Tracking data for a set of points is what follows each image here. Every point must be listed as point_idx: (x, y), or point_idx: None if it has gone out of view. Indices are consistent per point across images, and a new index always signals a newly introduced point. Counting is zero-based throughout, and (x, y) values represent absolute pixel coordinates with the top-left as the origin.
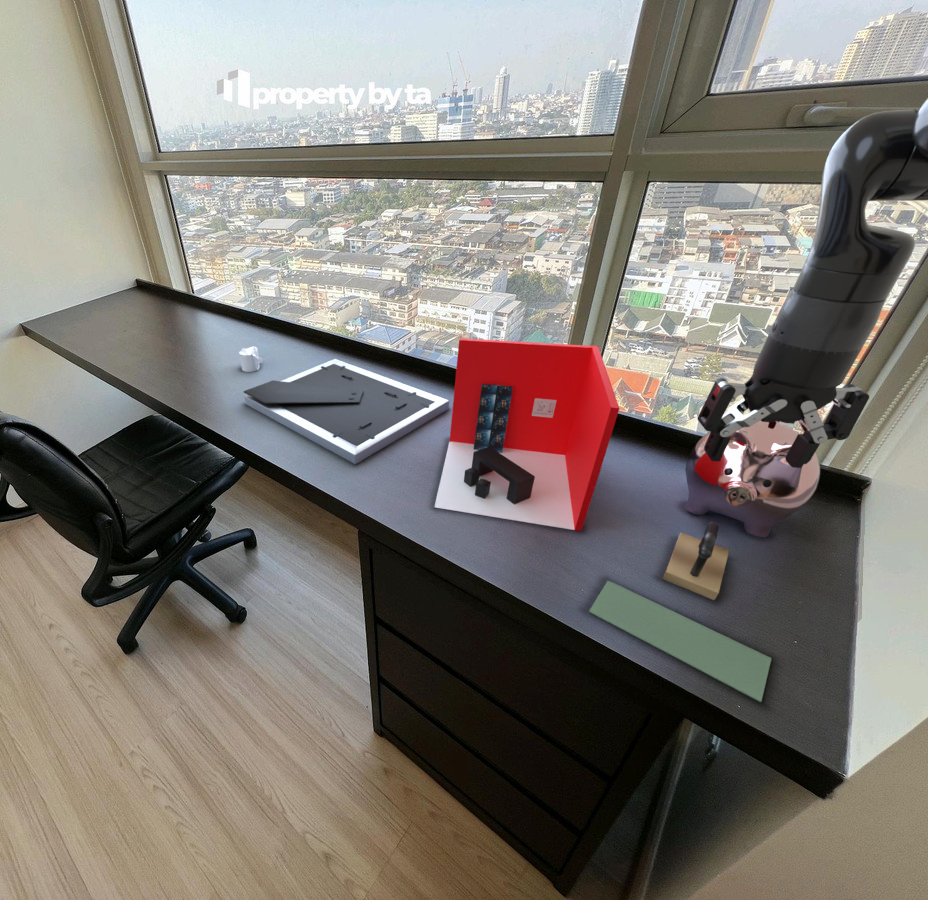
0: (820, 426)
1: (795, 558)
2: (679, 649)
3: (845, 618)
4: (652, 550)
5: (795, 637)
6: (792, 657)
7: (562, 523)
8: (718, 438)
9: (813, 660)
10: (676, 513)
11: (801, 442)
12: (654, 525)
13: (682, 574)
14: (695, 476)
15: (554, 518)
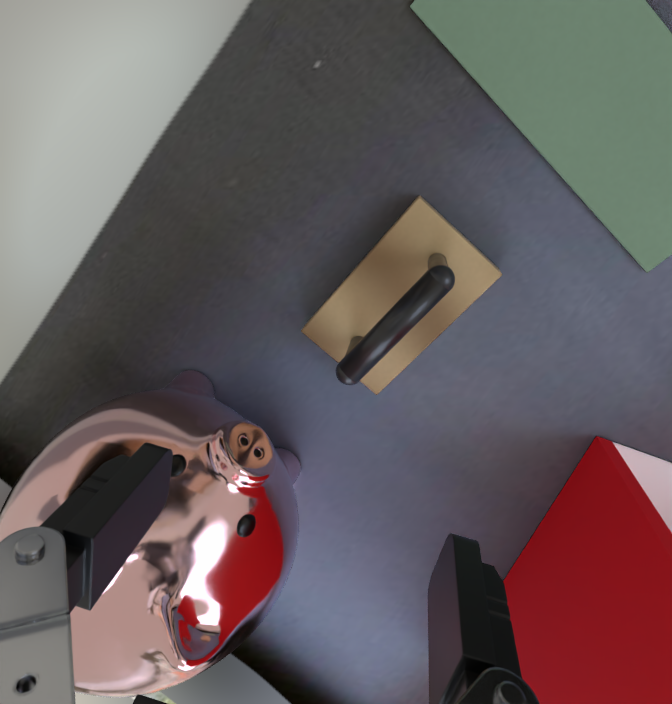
0: (3, 636)
1: (163, 306)
2: (623, 32)
3: (169, 132)
4: (459, 358)
5: (308, 77)
6: (355, 14)
7: (630, 465)
8: (504, 663)
9: (314, 6)
10: (327, 459)
11: (105, 556)
12: (401, 431)
13: (466, 263)
14: (296, 535)
15: (639, 483)
